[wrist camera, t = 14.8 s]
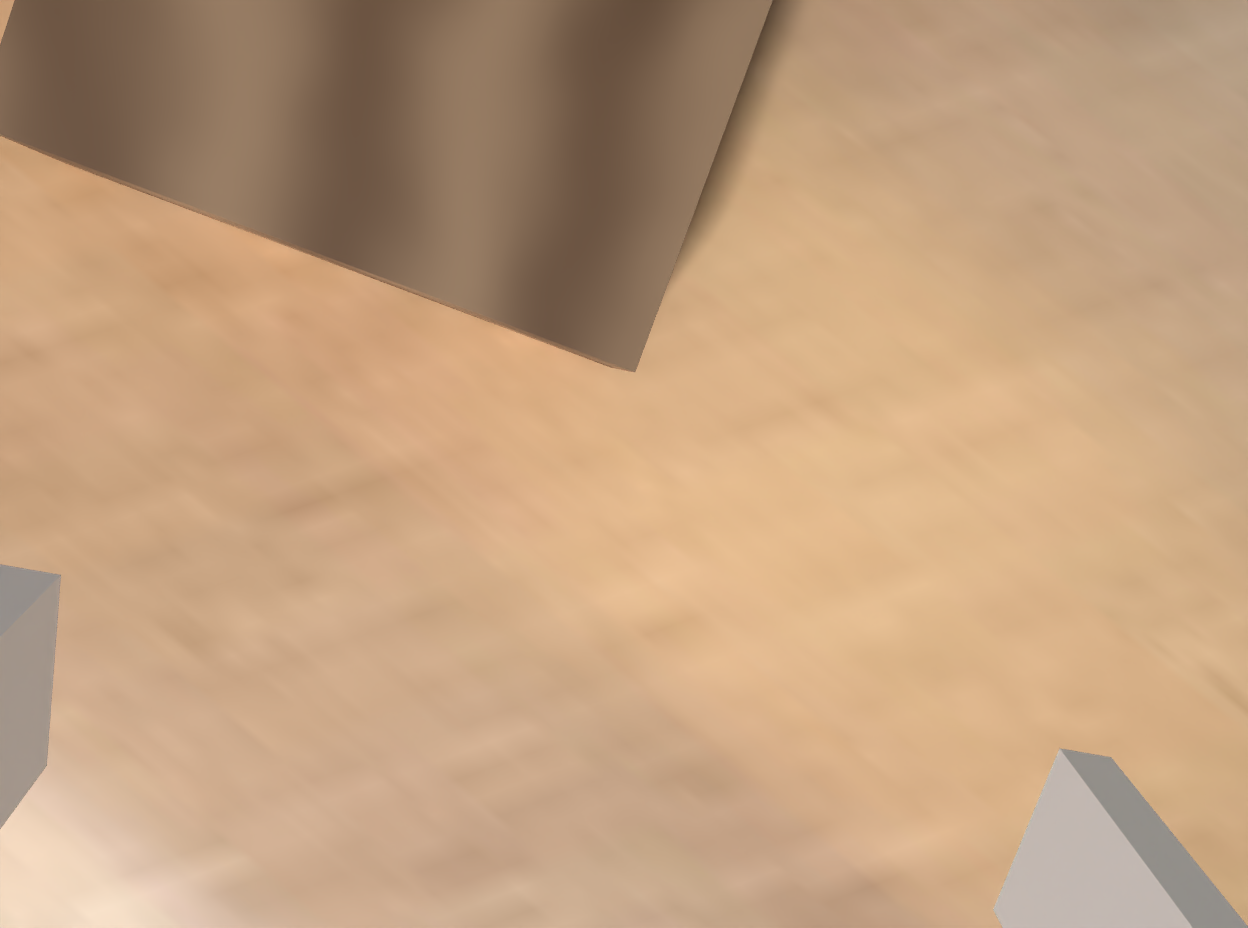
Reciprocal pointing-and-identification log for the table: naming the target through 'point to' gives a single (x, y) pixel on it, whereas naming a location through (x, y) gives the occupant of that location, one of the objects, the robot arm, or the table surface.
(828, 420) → the table surface
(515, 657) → the table surface
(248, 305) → the table surface
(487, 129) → the walnut shelf
